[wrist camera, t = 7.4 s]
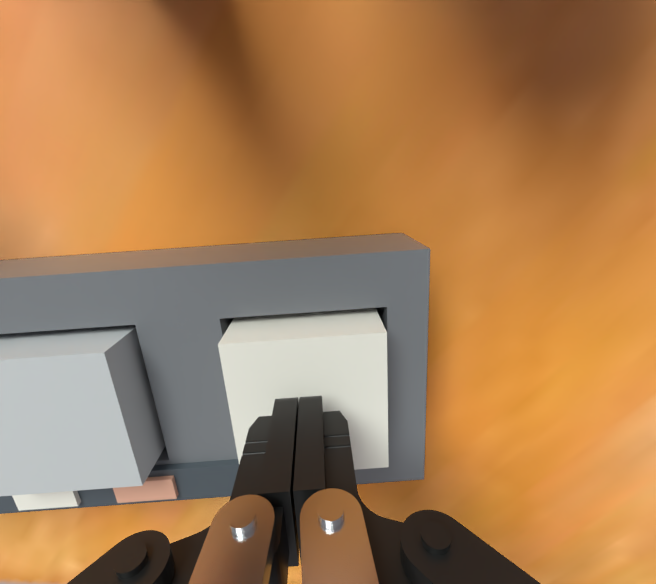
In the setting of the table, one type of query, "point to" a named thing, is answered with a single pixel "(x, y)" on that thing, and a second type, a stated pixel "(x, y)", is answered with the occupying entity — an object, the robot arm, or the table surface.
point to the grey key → (75, 411)
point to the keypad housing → (209, 327)
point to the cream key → (311, 372)
